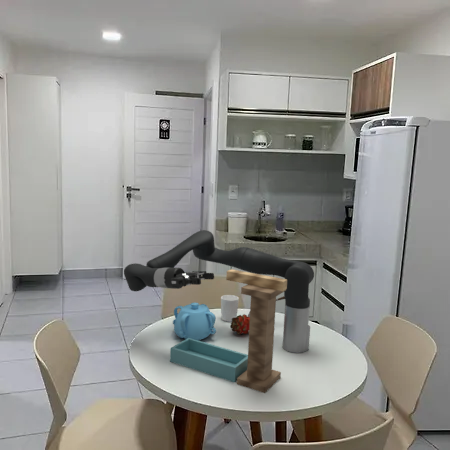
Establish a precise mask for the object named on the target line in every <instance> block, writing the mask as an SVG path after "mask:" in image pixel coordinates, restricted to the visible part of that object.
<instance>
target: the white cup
mask: <svg viewBox="0 0 450 450" xmlns="http://www.w3.org/2000/svg"><path fill="white" fill-rule="evenodd" d="M239 299H240V297H238V296H237V295H233V294H224V295H221V296H220V313H221V314H220V315H221V320H222V321H224V322H230V323H232V318H236V317H237V316H238V311H239V310H238V309H239V301H240V300H239Z"/></svg>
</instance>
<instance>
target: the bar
mask: <svg viewBox="0 0 450 450" xmlns="http://www.w3.org/2000/svg"><path fill="white" fill-rule="evenodd" d="M225 275H226V279H225V280H226V281H230V282H234V283H240V284H245V285H248V284H249V285H254V286H259V287H264V288H269V289H274V290H279V291H284V290H286V289H287V279H285V278H282V277H281V278H280V277H275V276H272V275H263V274H255V273H250V272H247V271H244V270H239V269H238V270H237V269H229V270H226V274H225Z"/></svg>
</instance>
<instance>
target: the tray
mask: <svg viewBox="0 0 450 450" xmlns="http://www.w3.org/2000/svg"><path fill="white" fill-rule="evenodd" d="M169 350H170V351H169V352H170V353H169V354H170V355H169V362H171V363H173V364H176V365H179V366H183V367H185V368H186V367H187V368H189V369H193V370H194V371H197V372H202V373H203V374H207V375H210V376H212V377H216V378H219V379H223V380H226V381H229V382H232V383H237V378H238V377H239V376H240V375H241V374H243V373H244V372H245V371H246V370H247V364H248V353H243V352H239V351H237V350H232V349H229V348H226V347H222V346H219V345H215V344H212V343H209V342H204V341H201V340H200V341H198V340H194V339H191V338H187V339H185V338H184V340H182V341H180V342H179V343H177V344H175V345H173V346H172V347H170V349H169Z"/></svg>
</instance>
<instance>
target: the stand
mask: <svg viewBox="0 0 450 450" xmlns="http://www.w3.org/2000/svg"><path fill="white" fill-rule="evenodd" d="M284 291H286V290H284ZM284 291H279V290H274V289H269V288H264V287H259V286H254V285H249V284H245V285H244V286H241V287H240V294H241V295H246V296H250V308H249V312H250V325H249V331H248V332H249V333H248V345H247V348H248V349H247V355H248V364H247V370H246V371H245V372H244V373H243V374H241V375H240V376H239V377H238V378H237V381H236V385H238V386H241V387H245V388H248V389H251V390H254V391H256V392H260V393H263V394H266V393H267V392H268V391H269V390H270V389H271V388H272V387H273V386H274V385H275V384H276V383H277V382H278V381H279V380H280V379H281V374H282V372H281V371H278V370H275V369H273V359H274V358H273V357H274V353H273V352H274V341H275V340H274V337H275V322H276V321H275V320H276V305H277V304H276V303H277V301H276V299H277V297H278V296H279V295H281V294H282V293H284Z"/></svg>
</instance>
